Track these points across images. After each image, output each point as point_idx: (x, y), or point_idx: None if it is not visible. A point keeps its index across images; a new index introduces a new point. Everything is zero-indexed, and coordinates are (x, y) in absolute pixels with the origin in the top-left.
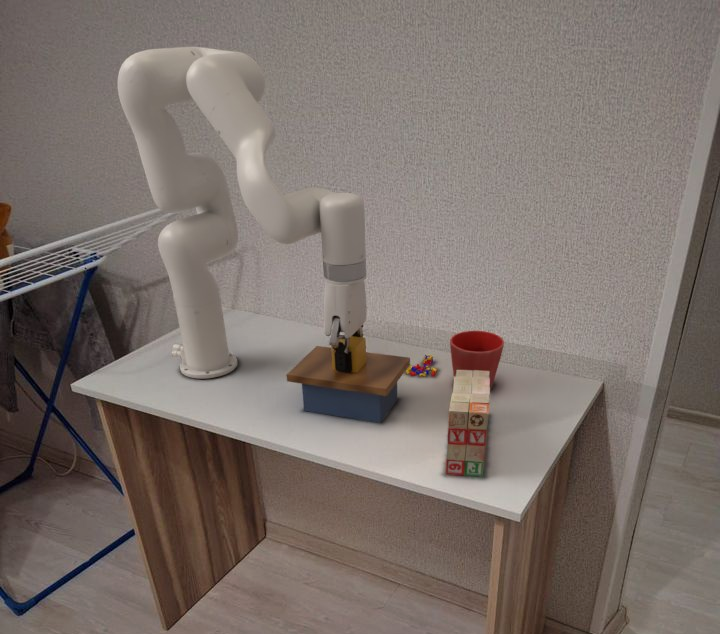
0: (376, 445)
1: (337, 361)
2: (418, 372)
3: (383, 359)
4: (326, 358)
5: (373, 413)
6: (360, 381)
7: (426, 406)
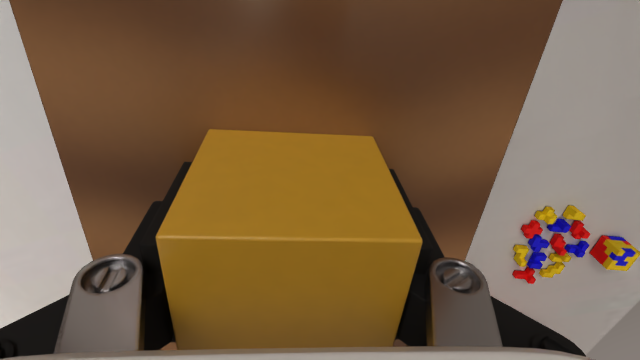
0: (87, 248)
1: (139, 226)
2: (535, 243)
3: None
4: (366, 24)
5: None
6: None
7: None
